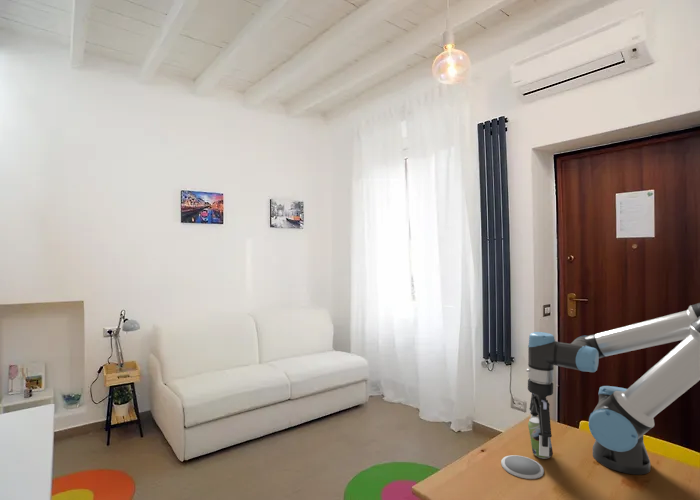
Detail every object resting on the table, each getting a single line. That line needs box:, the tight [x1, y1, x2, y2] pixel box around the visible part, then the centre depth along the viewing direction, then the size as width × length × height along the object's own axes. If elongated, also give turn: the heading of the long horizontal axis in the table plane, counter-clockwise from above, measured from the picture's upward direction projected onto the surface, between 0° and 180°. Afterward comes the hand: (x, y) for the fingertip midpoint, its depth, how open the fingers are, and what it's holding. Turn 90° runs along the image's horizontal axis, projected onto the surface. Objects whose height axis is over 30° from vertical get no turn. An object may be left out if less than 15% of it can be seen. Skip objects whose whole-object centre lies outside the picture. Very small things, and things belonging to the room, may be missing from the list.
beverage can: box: [527, 417, 554, 460], centre depth 126 cm, size 6×7×12 cm
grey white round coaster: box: [500, 454, 545, 480], centre depth 120 cm, size 12×12×1 cm
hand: (539, 444), depth 127 cm, fingers open, 13 cm apart
